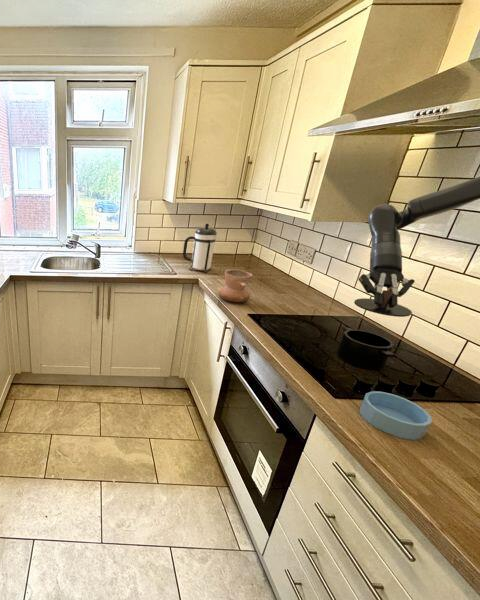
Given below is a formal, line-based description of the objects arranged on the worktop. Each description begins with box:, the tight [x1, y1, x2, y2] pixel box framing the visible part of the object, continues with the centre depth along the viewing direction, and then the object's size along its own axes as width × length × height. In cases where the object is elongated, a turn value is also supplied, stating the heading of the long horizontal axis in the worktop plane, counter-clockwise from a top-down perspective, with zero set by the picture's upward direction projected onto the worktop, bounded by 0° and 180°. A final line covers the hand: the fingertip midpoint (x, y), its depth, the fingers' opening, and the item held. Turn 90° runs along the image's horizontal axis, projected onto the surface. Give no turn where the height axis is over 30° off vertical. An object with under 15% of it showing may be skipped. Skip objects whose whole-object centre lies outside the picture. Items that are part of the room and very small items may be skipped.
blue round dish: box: [359, 390, 433, 441], centre depth 81 cm, size 12×12×4 cm
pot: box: [336, 327, 395, 371], centre depth 107 cm, size 12×18×8 cm
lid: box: [353, 289, 413, 318], centre depth 99 cm, size 14×14×6 cm
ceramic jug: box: [218, 268, 253, 304], centre depth 157 cm, size 18×14×14 cm
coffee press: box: [182, 223, 219, 274], centre depth 201 cm, size 17×16×30 cm
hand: (385, 305), depth 98 cm, fingers closed on lid, 2 cm apart
